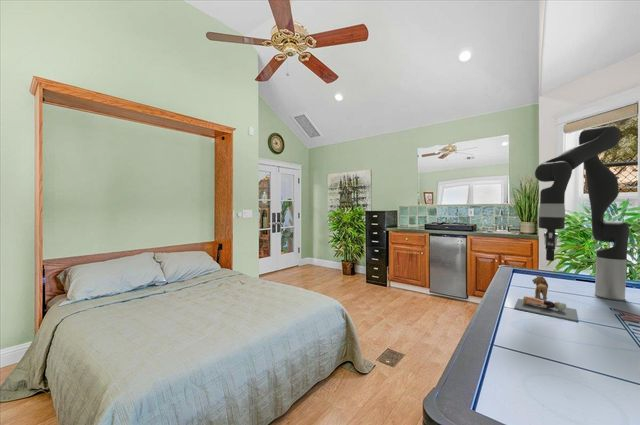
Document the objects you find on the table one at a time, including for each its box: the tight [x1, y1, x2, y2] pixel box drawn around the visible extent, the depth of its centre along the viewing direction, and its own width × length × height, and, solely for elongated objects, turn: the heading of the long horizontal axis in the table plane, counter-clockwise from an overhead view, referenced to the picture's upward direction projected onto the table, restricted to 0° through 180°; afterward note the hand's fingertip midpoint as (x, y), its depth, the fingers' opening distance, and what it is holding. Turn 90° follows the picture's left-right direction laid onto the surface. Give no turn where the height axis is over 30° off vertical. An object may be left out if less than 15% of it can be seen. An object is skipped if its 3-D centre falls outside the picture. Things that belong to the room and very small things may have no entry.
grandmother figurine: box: [522, 295, 567, 311], centre depth 106 cm, size 8×4×13 cm
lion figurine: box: [531, 275, 549, 301], centre depth 118 cm, size 15×5×9 cm, turn 147°
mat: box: [513, 298, 579, 323], centre depth 106 cm, size 14×18×1 cm
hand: (550, 259), depth 105 cm, fingers open, 8 cm apart
